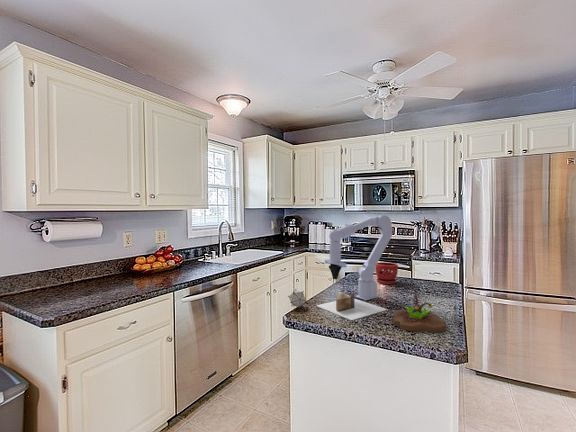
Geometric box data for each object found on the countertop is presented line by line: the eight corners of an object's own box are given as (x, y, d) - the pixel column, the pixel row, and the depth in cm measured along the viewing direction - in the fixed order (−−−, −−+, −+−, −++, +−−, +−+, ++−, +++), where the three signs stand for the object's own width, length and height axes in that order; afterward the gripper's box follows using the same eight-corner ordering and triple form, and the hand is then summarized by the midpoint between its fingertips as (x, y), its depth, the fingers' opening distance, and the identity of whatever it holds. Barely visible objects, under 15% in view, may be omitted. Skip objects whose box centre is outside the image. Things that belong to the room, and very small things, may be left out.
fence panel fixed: (355, 307, 144) (355, 294, 144) (352, 308, 143) (352, 294, 143) (339, 302, 153) (339, 289, 153) (337, 302, 152) (337, 289, 152)
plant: (436, 316, 134) (437, 290, 134) (451, 334, 115) (452, 305, 115) (388, 313, 138) (388, 288, 138) (395, 330, 119) (395, 302, 119)
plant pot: (400, 285, 186) (400, 265, 186) (378, 285, 186) (378, 265, 186) (393, 280, 199) (393, 261, 199) (373, 280, 199) (373, 261, 199)
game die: (296, 316, 145) (286, 302, 140) (291, 304, 152) (282, 291, 148) (312, 306, 145) (304, 292, 140) (307, 295, 153) (298, 281, 148)
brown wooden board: (349, 307, 144) (349, 296, 144) (351, 307, 144) (351, 296, 143) (336, 310, 140) (336, 299, 140) (337, 310, 139) (337, 299, 139)
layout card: (350, 297, 161) (350, 297, 161) (387, 310, 142) (387, 309, 142) (316, 306, 148) (316, 305, 148) (351, 320, 129) (351, 319, 129)
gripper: (320, 252, 166) (320, 277, 166) (339, 255, 154) (339, 282, 154) (330, 251, 170) (330, 275, 170) (349, 254, 158) (349, 280, 158)
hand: (335, 279), depth 163 cm, fingers closed
